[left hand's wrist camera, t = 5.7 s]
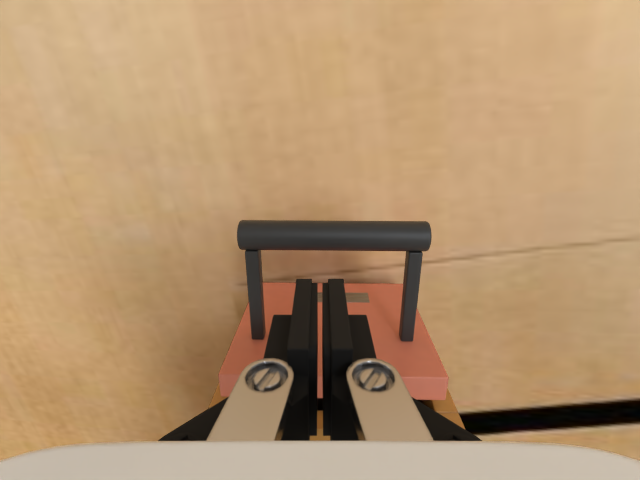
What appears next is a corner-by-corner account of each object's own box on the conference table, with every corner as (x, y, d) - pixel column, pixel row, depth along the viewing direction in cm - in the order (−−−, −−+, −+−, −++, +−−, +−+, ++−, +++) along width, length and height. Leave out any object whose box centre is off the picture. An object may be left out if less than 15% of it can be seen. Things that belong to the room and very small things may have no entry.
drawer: (250, 192, 21) (201, 242, 13) (414, 192, 20) (470, 244, 12) (269, 477, 29) (247, 619, 21) (387, 480, 28) (411, 623, 20)
